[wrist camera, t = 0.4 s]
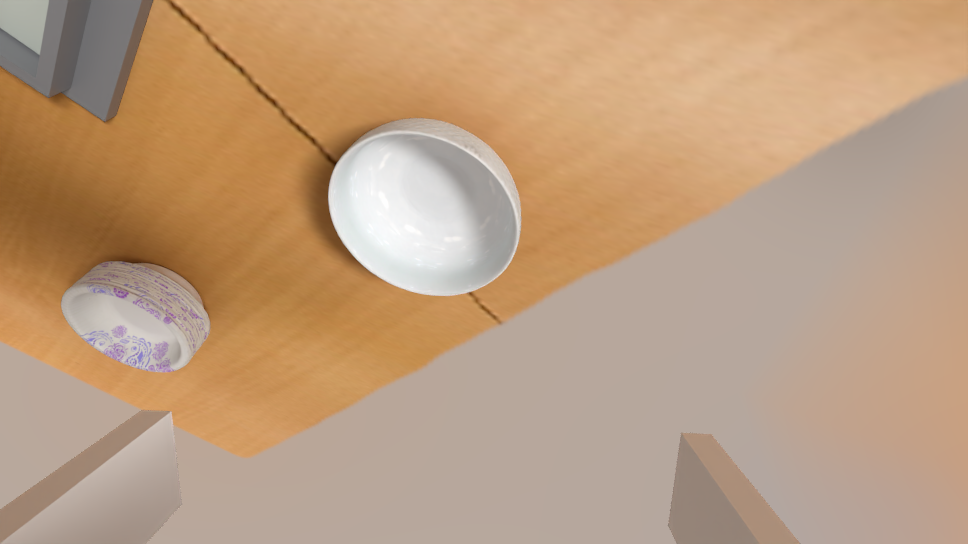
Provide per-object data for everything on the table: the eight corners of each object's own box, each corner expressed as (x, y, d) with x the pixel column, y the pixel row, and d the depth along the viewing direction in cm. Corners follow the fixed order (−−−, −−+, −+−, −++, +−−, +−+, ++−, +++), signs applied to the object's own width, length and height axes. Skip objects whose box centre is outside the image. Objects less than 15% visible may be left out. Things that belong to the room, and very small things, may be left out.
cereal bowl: (562, 204, 46) (559, 250, 41) (438, 274, 55) (422, 319, 49) (443, 54, 39) (421, 87, 33) (321, 162, 47) (288, 201, 42)
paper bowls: (206, 257, 59) (164, 302, 53) (235, 338, 69) (202, 383, 63) (87, 234, 59) (32, 276, 53) (133, 317, 69) (91, 361, 64)
